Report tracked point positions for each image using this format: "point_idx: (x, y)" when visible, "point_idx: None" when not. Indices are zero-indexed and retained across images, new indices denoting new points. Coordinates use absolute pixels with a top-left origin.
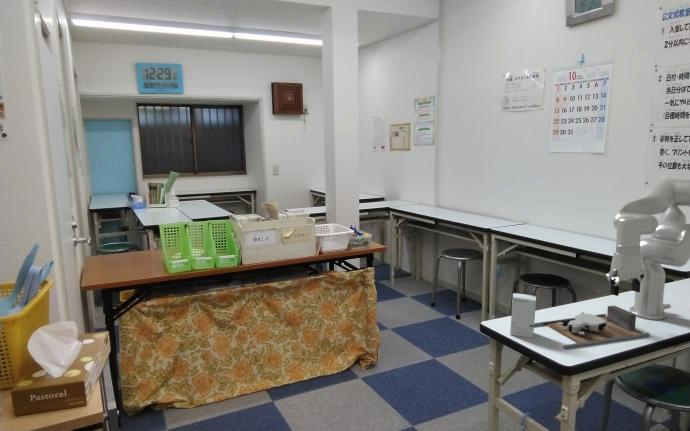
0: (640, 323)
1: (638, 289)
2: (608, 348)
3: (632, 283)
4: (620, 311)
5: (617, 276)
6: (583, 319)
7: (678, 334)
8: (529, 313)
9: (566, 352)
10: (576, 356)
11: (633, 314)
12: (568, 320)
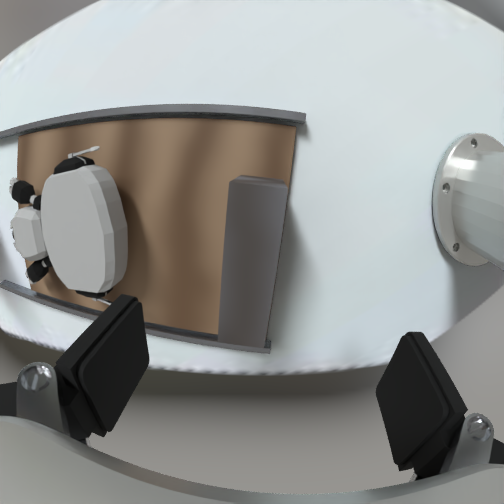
0: (373, 251)
1: (383, 412)
2: None
3: (427, 396)
4: (223, 285)
5: (171, 481)
6: (48, 226)
7: (375, 362)
8: None
9: (6, 295)
10: (16, 317)
11: (252, 342)
12: (85, 118)
